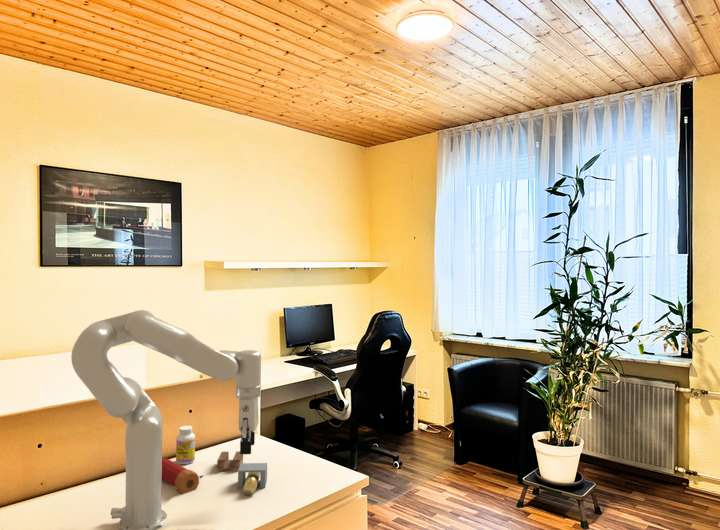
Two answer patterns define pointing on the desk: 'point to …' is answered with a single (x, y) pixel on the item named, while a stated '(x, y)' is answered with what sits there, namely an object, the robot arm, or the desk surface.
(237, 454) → the v block
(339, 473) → the desk surface
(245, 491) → the axle
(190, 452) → the supplement bottle
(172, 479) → the shell casing
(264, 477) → the grey hollow block
